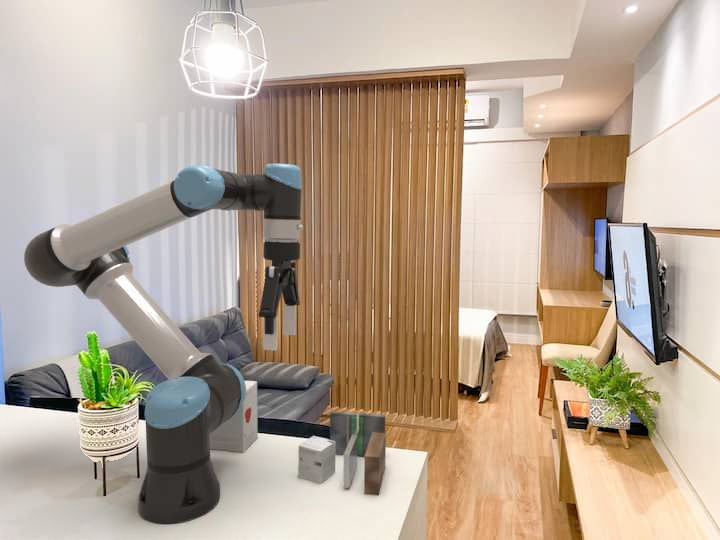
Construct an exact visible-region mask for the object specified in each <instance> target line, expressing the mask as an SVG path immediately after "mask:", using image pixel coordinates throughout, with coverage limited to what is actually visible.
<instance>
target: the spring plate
mask: <svg viewBox="0 0 720 540" xmlns="http://www.w3.org/2000/svg"><path fill="white" fill-rule="evenodd" d="M359 432H360V428H359V414H357V427H356V430H355V432H354V435H352V436H351V438H350V441H349V443H348V445H347V448H346V450H345V453H344V455H343V488H347V489H348V488H350V486H351V484H352V481H353V477H354V475H355V473H356V472H355V471H356V469H357V467H358V456H357V437H358V434H359Z"/></svg>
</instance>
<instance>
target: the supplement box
mask: <svg viewBox="0 0 720 540" xmlns="http://www.w3.org/2000/svg"><path fill="white" fill-rule="evenodd" d="M244 381H245V385H246V396H245V400H244V402H243V404H242V406H241V407H240V408H239V409H238V411H237V412H236V413H235V414H234V415H233V416H232V417H231V418H230V419H228V420H226V421H225V422H224V423H223V424H221V425H220V426H219V427H218V428H216V429H215V430H214V431H213V432H212V433H210V450H216V451H217V450H218V451H219V450H220V451H228V452H237V453H244V452H245V451H247V450H248V448H249V447H250V446H252V444H253V443H254V442H255V441H256V440H258V381H255V380H244Z"/></svg>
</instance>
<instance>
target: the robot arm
mask: <svg viewBox="0 0 720 540" xmlns="http://www.w3.org/2000/svg"><path fill="white" fill-rule="evenodd" d="M302 190H303V187H302V171H301V168H300V167H299V166H297V165H295V164H288V163H267V164H266V165H265V166H264V171H263V173H257V174H254V173H237V172H232V171H231V172H230V171H226V170H221V169H216V168H213V167H210V166H207V165H190V166H186V167H184V168H183V169H181V170H180V171H179V172H178V173H177V175H176V176H175V178H174V180H172V181H170V182H168V183H164V184H162V185H160V186H159V187H156V188H154V189H151V190H149V191H147V192H145V193H143V194H140V195H138V196H136V197H133V198H132V199H128V200H127V201H125V202H122V203H121V204H118V205H116V206H113V207H111V208H109V209H107V210H105V211H102V212H99V213H97V214H96V215H95V214H94V215H93V216H90V217H89V218H86V219H84V220H82V221H79V222H77V223H75V224H73V225H70V224H60V225H58V226H55V227H52V228H50V229H48V230H46V231H44V232H41V233H40V234H38V235H36V236H35V237H33V238H32V239H31V240H30V242H28V244H27V246H26V247H25V251H24V257H23V260H24V265H25V268H26V271H27V272H28V274H29V275H30V276H31V277H32V278H33V279H34V280H35V281H36V282H39V283H40V284H42V285H45V286H49V287H54V288H63V287H70V286H76V287H77V288H78V289H79V290H80V291H81V292H82V294H83V295H84V296H85V297H86V298H87V299H89V300H99V301H100V303H102V305H103V306H104V307H105V309H106V310H107V311H108V312H109V313H110V314H111V315H112V316H113V318H114V319H115V320H116V321H117V322H118V323H119V324H120V325H121V326H122V328H123V329H124V330H125V331H126V332H127V334H129V335H130V337H131V338H132V339H133V340H134V342H136V344H137V345H138V346H139V347H140V349H141V350H142V351H143V352H144V353H145V354H146V355H147V356H148V357H149V359H150V360H151V361H152V362H153V363H154V364H155V366H156V367H158V369H159V370H160V371H161V372H162V373H163V374H164V376H165V377H166V378H167V380H164V381H162V382H159V383H158V384H156V385H155V386H153V387H152V388H151V389H150V390H149V392H148V393H147V395H146V397H145V407H144V408H145V409H144V419H145V436H146V439H145V440H146V444H145V445H146V463H147V464H146V467H147V468H146V471H145V474H144V479H143V482H142V485H141V487H140V488H141V489H140V492H139V494H138V512H139V515H141V517H142V518H144V519H145V520H147V521H151V522H153V523H158V524H159V523H160V524H175V523H181V522H186V521H190V520H193V519H194V520H195V519H196V518H199V517H201V516H204V515H205V514H206V513H208V512H210V511H211V510H213V509H214V508H215V507H217V505H218V503H219V502H220V499H221V485H220V481H219V478H218V476H217V473H216V470H215V467H214V466H213V463H212V460H211V459H212V458H211V449H210V433H212V432H213V431H214V430H215V429H216V428H218V427H219V426H220V425H221V424H223V423H224V422H225V421H226V420H228V419H230V418H231V417H232V416H233V415H234V414H235V413H236V412H237V411H238V409H239V408H240V407H241V406H242V404H243V402H244V400H245V396H246V385H245V381H246V380H245V379H244V377H243V375H242V373H241V372H240V371H239V370H238V369H237V368H236V367H235V366H233V365H231V364H227V363H222V362H221V363H220V362H219V361H218V360H217V359H216V357H214V355H213V354H212V353H210V352H209V353H208V352H201V351H200V350H199V349H198V348H197V347H196V346H195V345H194V344H193V342H192V341H191V340H190V339H189V338H188V337H187V336H186V335H185V333H183V331H182V330H181V329H180V328H179V326H177V324H176V323H175V322H174V321H173V320H172V319H171V318H170V316H169V315H167V313H166V312H165V311H164V310H163V309H162V308H161V306H159V304H158V303H157V302H156V301H155V300H154V298H152V297H151V295H150V294H149V293H148V292H147V291H146V290H145V289H144V288H143V286H142V285H141V284H140V283H139V282H138V280H137V279H136V278H135V277H134V276H133V269H134V267H133V265H132V263H131V261H130V257H129V253H130V252H129V249H128V247H127V246H128V245H131V244H133V243H135V242H137V241H141V240H142V239H145V238H146V237H149V236H152V235H153V234H154V235H155V234H156V233H158V232H161V231H163V230H165V229H168V228H171V227H173V226H175V225H177V224H179V223H182V222H185V221H187V220H189V219H191V218H194V217H197V216H199V215H201V214H204V213H206V212H209V211H211V210H221V211H227V212H228V211H257V212H262V211H263V231H262V232H263V233H262V235H263V238H264V239H266V241H264V242H262V243H263V247H262V248H263V254H262V255H263V259H265V260H267V261H271V266H269V265H268V266H265V274H264V284H263V289H262V296H261V302H260V308H259V312H258V317H259V318H263V321H262V322H263V324H262V325H263V326H262V327H263V328H262V331H263V333H262V335H263V336H262V341H263V342H262V349H263V350H265V351H274V352H275V351H277V350H278V346H279V345H278V344H279V342H278V341H279V338H278V337H279V336H278V335H279V334H278V333H279V317H278V316H277V313H278V309H279V305H280V301H281V297H282V298H283V301H284V305H283V307H282V308H283V309H282V310H283V311H282V335H286V336H296V331H297V329H296V327H297V326H296V322H297V321H296V320H297V306H300V304H301V301H300V297H299V287H298V280H297V278H298V277H297V271H296V270H297V266H296V265H297V263H296V261H298V260H300V259H301V243H300V242H299V241H298V240H300V239H301V230H303V229H304V226H303V225H302V224H301V220H302V218H301V215H302V214H301V213H302Z"/></svg>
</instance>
